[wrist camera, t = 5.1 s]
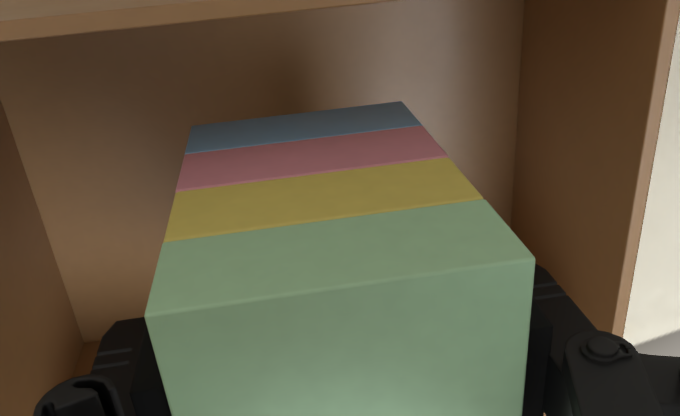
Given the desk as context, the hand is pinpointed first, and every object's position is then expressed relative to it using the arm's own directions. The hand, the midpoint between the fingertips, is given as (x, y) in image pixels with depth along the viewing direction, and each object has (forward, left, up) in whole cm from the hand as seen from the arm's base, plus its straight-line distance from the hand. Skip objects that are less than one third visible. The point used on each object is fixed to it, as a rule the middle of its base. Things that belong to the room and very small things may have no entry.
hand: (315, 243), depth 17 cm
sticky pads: (0, 0, -2) cm, 2 cm away
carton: (0, 0, -6) cm, 7 cm away
